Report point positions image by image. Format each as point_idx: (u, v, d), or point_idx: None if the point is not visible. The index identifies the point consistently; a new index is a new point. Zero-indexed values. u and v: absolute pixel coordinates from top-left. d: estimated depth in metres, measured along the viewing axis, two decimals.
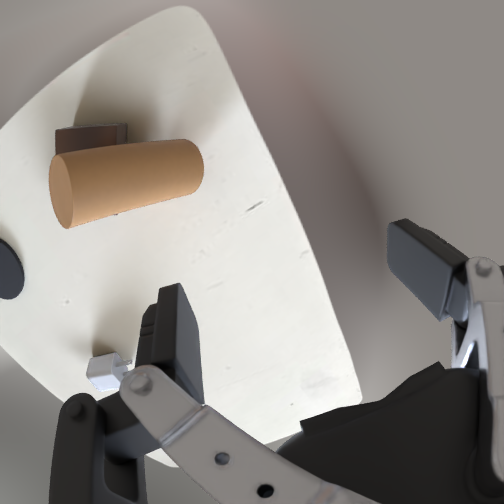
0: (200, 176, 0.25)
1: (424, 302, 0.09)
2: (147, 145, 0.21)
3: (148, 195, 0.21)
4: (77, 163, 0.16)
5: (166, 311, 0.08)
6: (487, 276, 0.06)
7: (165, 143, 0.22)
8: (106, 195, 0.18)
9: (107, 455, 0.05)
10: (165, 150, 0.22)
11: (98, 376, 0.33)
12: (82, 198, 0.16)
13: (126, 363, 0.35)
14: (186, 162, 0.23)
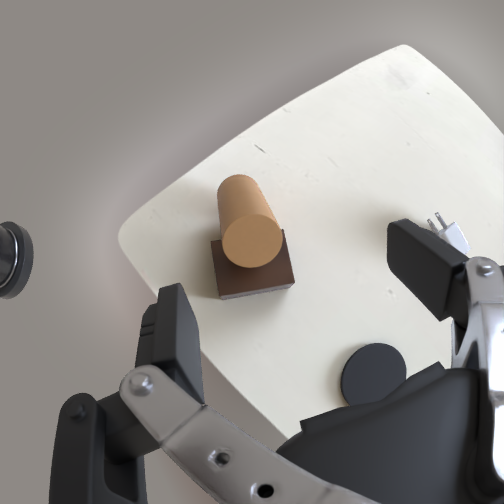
0: (239, 175, 0.34)
1: (424, 302, 0.09)
2: (219, 206, 0.31)
3: (252, 190, 0.30)
4: (225, 224, 0.25)
5: (166, 311, 0.08)
6: (487, 276, 0.06)
7: (218, 200, 0.33)
8: (248, 202, 0.26)
9: (107, 455, 0.05)
10: (221, 195, 0.32)
11: None
12: (249, 211, 0.25)
13: (431, 224, 0.35)
14: (228, 182, 0.33)
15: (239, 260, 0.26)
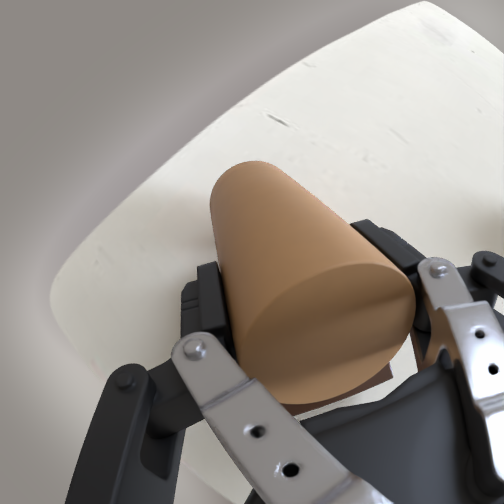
0: (251, 162, 0.16)
1: None
2: (215, 232, 0.13)
3: (293, 186, 0.12)
4: (243, 304, 0.07)
5: (208, 285, 0.09)
6: (439, 277, 0.07)
7: (213, 218, 0.15)
8: (306, 220, 0.08)
9: (147, 428, 0.06)
10: (218, 205, 0.14)
11: None
12: (324, 251, 0.07)
13: None
14: (231, 177, 0.15)
15: (293, 395, 0.08)
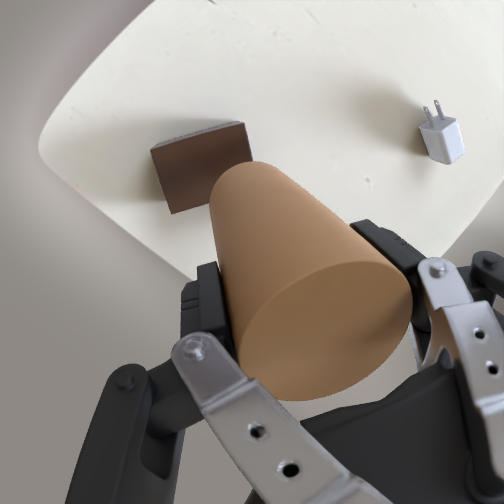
0: (250, 162, 0.16)
1: None
2: (215, 232, 0.13)
3: (292, 186, 0.12)
4: (243, 302, 0.07)
5: (208, 285, 0.09)
6: (439, 277, 0.07)
7: (212, 218, 0.15)
8: (304, 219, 0.09)
9: (147, 428, 0.06)
10: (217, 206, 0.14)
11: (447, 149, 0.27)
12: (321, 249, 0.07)
13: (428, 113, 0.26)
14: (230, 177, 0.15)
15: (292, 392, 0.08)
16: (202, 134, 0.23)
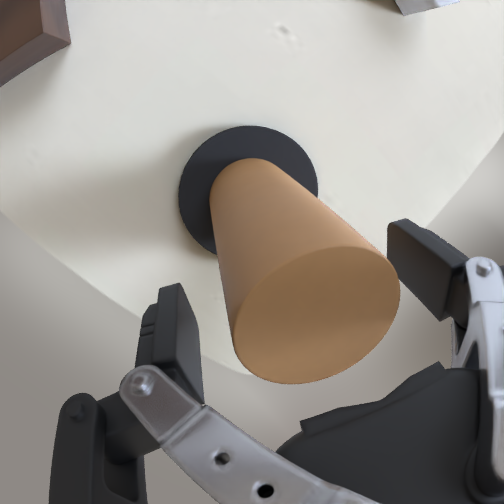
0: (249, 159, 0.17)
1: (424, 302, 0.09)
2: (214, 225, 0.14)
3: (287, 181, 0.13)
4: (237, 285, 0.08)
5: (166, 311, 0.08)
6: (487, 276, 0.06)
7: (212, 212, 0.15)
8: (296, 210, 0.09)
9: (107, 455, 0.05)
10: (216, 200, 0.15)
11: None
12: (310, 235, 0.07)
13: None
14: (229, 173, 0.16)
15: (285, 374, 0.09)
16: None
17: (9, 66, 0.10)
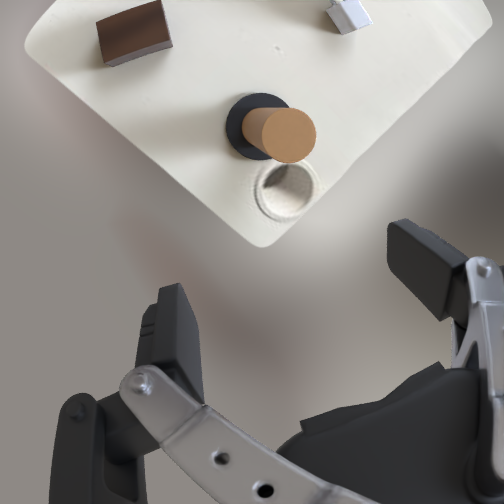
0: None
1: (424, 302, 0.09)
2: (248, 126, 0.31)
3: None
4: (262, 122, 0.25)
5: (166, 311, 0.08)
6: (487, 276, 0.06)
7: (245, 126, 0.33)
8: None
9: (107, 455, 0.05)
10: (248, 119, 0.32)
11: (349, 17, 0.27)
12: (283, 108, 0.25)
13: None
14: (253, 111, 0.33)
15: (278, 155, 0.26)
16: (131, 9, 0.23)
17: (142, 51, 0.27)
